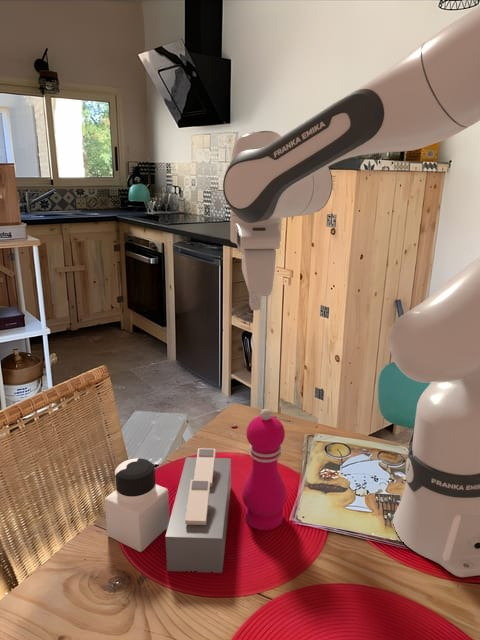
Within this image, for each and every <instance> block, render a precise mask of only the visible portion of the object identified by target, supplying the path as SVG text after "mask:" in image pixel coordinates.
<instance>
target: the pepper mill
mask: <svg viewBox="0 0 480 640" xmlns="http://www.w3.org/2000/svg"><path fill="white" fill-rule="evenodd" d="M285 435H286V432H285V428H284V425H283V423H282V422H281V421H280V420H279V419H278V418H276V417H275V416H272V411H271V410H270V409H268V408H263V409H261V411H260V415H258V416H256V417H254V418H253V419H251V421H250V422H249V423H248V425H247V428H246V439H247V443H249V447H248V448H249V452H248V453H249V456H250V457H251V458H252V468H251V471H250V474H249V475H248V477H247V478H246V481H245V483H244V485H243V488H242V502H243V504H244V506H245V508H244V511H245V513H244V514H245V515H244V519H245V521H246V523H247V524H248V525H249V526H250V527H251V528H253V529H255V530H259V531H271V530H274V529H277V528H278V527H279V526H281V524H282V522H283V519H284V506H285V505H286V502H287V490H286V486H285V483H284V481H283V478H282V477H281V474H280V471H279V468H278V460H279V459H280V457H281V456H282V446H281V445H282V444H283V442H284V440H285V438H286V437H285ZM276 527H277V528H276Z"/></svg>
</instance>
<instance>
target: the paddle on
mask: <svg viewBox="0 0 480 640" xmlns="http://www.w3.org/2000/svg"><path fill="white" fill-rule="evenodd" d="M209 493H210V480H191V482H190V489H189V496H188V503H187V510H186V517H185V524H188V525H206V521H207V512H208V502H209Z"/></svg>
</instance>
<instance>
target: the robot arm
mask: <svg viewBox="0 0 480 640" xmlns="http://www.w3.org/2000/svg"><path fill="white" fill-rule="evenodd" d="M478 122H480V6H478V7H477V8H475V9H473V10H472V11H469V12H468V13H466V14H464V15H463V16H461V17H460V18H458V19H456V20H454V21H453V22H452V23H450V24H449V25H447V26H446V27H444V28H442V29H441V30H440V31H439V32H437V33H435V35H433V36H431V37H430V38H428V39H427V40H426V41H424V42H423V43H422V44H420V45H419V46H418V47H416V48H415V49H413V51H411V52H410V53H408V54H407V55H405V56H404V57H403V58H402V59H400V60H399V61H397V62H396V63H395V64H393V65H392V66H390V67H388V69H386V70H384V71H383V72H382V73H380V74H379V75H377V76H376V77H375V78H373V79H371V80H370V81H368V82H367V83H365V84H363V85H361V86H360V87H358V88H356V89H355V90H354V91H352V92H351V93H349V94H347V95H345V96H344V97H343V98H340V99H338V100H337V101H335V102H333V103H332V104H330V105H328V106H327V107H325V108H323V109H322V110H320V111H318V112H317V113H316V114H314V115H312V116H311V117H309V118H308V119H306V120H305V121H302V123H300V124H298V125H297V126H295V127H294V128H293V129H291V130H289V131H288V132H286V133H285V134H284V135H280V134H279V133H278V132H275V131H271V130H260V131H252V132H247V133H245V134H242V135H240V136H239V137H237V139H235V142H234V145H233V148H232V152H231V153H232V154H231V161H230V163H229V165H228V166H227V168H226V171H225V174H224V177H223V181H222V183H223V184H222V191H223V195H224V199H225V202H226V204H227V206H228V207H229V209H230V214H229V215H230V228H229V229H230V242H231V243H233V244H235V245H236V246H237V252H239V253H241V271H242V275H243V278H244V281H245V284H246V287H247V291H248V296H249V297H248V300H249V301H248V302H249V303H248V305H249V307H250V310H251V311H260V309H261V305H262V302H261V300H262V297H269V296H271V294H272V292H273V287H274V279H275V270H276V262H277V261H276V257H277V250H280V248H281V241H282V218H283V219H284V218H291V217H292V218H294V217H302V216H309V215H312V214H316V213H318V212H320V211H321V210H322V209H323V208H324V207H325V206H326V205H327V204H328V202H329V200H330V198H331V195H332V191H333V174H332V171H331V169H330V166H333V165H334V164H336V163H339V162H341V161H343V160H347V159H351V158H353V157H354V158H355V157H358V156H359V157H360V156H365V155H371V154H381V153H382V154H384V153H397V152H398V153H399V152H409V151H410V152H411V151H416V150H419V149H422V148H426V147H430V146H432V145H434V144H437V143H440V142H442V141H445V140H447V139H449V138H451V137H453V136H455V135H458V134H459V133H461V132H463V131H464V130H466V129H468V128H469V127H471V126H473V125H474V124H476V123H478ZM389 349H390V354H391V357H392V360H393V361H394V363H395V365H396V366H397V368H398V369H399V371H400V372H401V373H402V374H403V375H405V377H407V378H409V380H413V381H415V382H418V383H426V384H427V383H428V384H429V385H428V386H427V387H426V388H425V389H424V390H423V392H422V393H421V395H420V397H419V398H418V401H417V404H416V411H415V420H414V427H413V435H412V441H411V442H410V443H409V448H408V453H407V457H406V463H405V481H406V482H405V487H404V489H403V492H402V495H401V498H400V502H399V504H398V507H397V508H396V510H395V512H394V513H393V516H394V518H393V517H392V525H393V524H394V527H395V530H396V532H397V534H398V535H397V534H396V535H397V537H398V536H399V537H400V538H399V537H398V538H399V539H400V541H402V543H403V542H404V545H406V546H407V547H408V548H409V549H411V550H412V551H413V552H415V553H416V554H418V555H420V556H422V557H424V558H427V559H428V560H430V561H433V562H434V563H437V564H439V565H440V566H442V567H443V568H444V569H445V570H447V571H448V572H449V573H451V574H452V575H454V576H455V577H459V578H468V577H475V576H476V577H477V576H480V255H479V256H478V257H477V258H476V259H474V260H473V261H472V262H471V263H470V264H468V265H467V266H466V267H464V268H463V269H462V270H460V271H459V272H458V273H456V274H455V275H454V276H452V278H451V279H448V281H446V283H444V284H443V285H442V286H440V287H439V288H438V289H437V290H436V291H435V292H433V293H432V294H431V295H430V296H428V297H427V298H426V299H425V300H424V301H422V302H421V303H419V304H418V305H416V306H414V307H413V308H411V309H410V310H408V311H406V312H405V313H404V314H401V315H400V316H399V317H398V318H397V319H396V320H395V321H394V322H393V325H392V326H391V329H390V332H389ZM394 527H393V528H394ZM395 530H394V531H395ZM396 532H395V533H396Z"/></svg>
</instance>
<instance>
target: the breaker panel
mask: <svg viewBox="0 0 480 640" xmlns="http://www.w3.org/2000/svg"><path fill="white" fill-rule="evenodd" d="M196 459H197V457H191V456H190V457H189V456H187V457H185V460H184V464H183V469H182V471H181V475H180V476H181V477H180V479H179V483H178V488H177V491H176V495H175V498H174V503H173V507H172V510H171V514H170V516H169V525H168V528H166V533H165V536H164V537H165V551H166V552H165V553H166V569H167V572H182V571H183V572H186V571H188V572H187V573H191V572H190V571H192V573H195V572H194V571H197V572H196V573H211V572H213V574H215V573H216V574H223V573H222V572H223V571H224V569H223V568H224V562H225V561H224V560H225V550H226V541H227V530H228V520H229V511H230V499H231V490H232V465H231V464H232V463H231V462H232V459H231V458H229V457H228V458H225V457H223V458H222V457H219V458H218V457H215V463H214V473H213V483H212V487H210V493H209V502H208V512H207V521H206V525H188V524H185V517H186V510H187V503H188V496H189V489H190V482H191V480H194V474H195V466H196Z"/></svg>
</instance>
